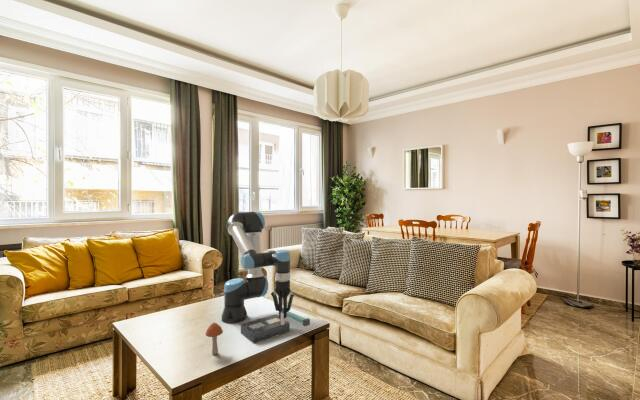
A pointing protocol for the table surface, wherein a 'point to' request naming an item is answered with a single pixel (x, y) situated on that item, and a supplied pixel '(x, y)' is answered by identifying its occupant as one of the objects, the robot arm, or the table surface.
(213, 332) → the mushroom
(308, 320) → the green knobbed rod
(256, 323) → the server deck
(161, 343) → the table surface
